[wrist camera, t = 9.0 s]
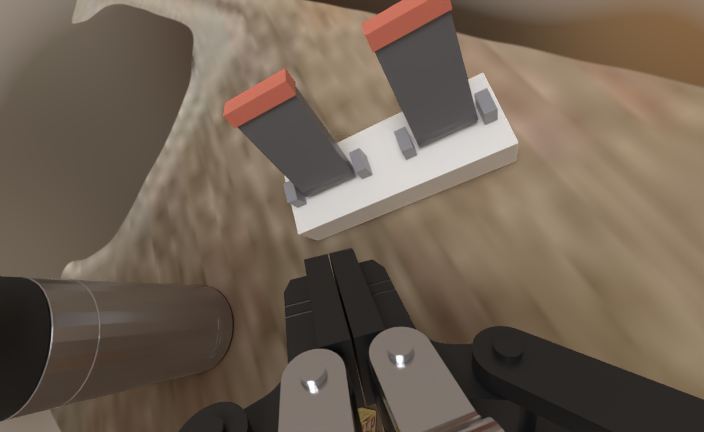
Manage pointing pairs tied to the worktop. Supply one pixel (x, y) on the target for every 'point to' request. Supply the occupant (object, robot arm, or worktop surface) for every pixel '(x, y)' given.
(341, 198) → the white paddle base
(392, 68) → the near paddle
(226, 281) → the worktop surface
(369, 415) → the candy box
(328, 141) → the far paddle
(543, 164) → the worktop surface
